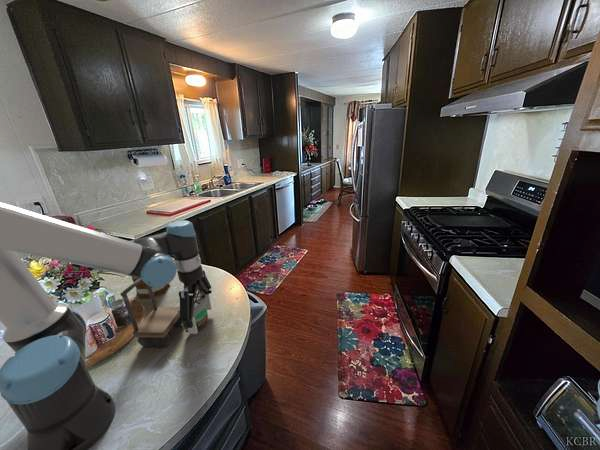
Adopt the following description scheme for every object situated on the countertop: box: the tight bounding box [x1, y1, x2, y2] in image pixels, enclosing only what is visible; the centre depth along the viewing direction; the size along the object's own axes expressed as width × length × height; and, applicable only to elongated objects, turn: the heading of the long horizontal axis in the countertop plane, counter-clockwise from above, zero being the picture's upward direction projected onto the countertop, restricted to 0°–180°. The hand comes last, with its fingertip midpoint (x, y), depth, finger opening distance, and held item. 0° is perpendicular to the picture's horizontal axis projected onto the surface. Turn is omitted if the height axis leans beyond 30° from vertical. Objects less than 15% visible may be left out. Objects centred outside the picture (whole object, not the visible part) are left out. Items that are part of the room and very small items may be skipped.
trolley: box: [119, 278, 183, 349], centre depth 81 cm, size 12×10×22 cm
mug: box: [131, 276, 171, 300], centre depth 110 cm, size 20×14×15 cm
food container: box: [178, 290, 209, 333], centre depth 85 cm, size 12×6×10 cm, turn 169°
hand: (201, 320), depth 87 cm, fingers closed on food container, 11 cm apart
